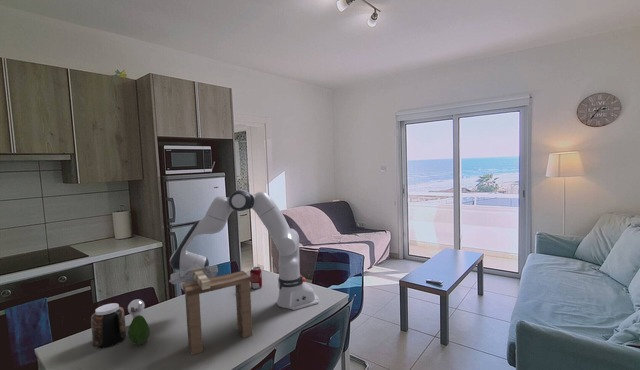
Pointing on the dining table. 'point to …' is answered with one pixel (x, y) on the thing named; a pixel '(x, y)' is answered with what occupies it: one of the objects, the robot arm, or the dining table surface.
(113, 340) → the jar
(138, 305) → the light bulb
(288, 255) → the robot arm
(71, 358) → the dining table surface
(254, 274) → the soda can
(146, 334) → the avocado
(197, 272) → the birch bar
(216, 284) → the walnut shelf
